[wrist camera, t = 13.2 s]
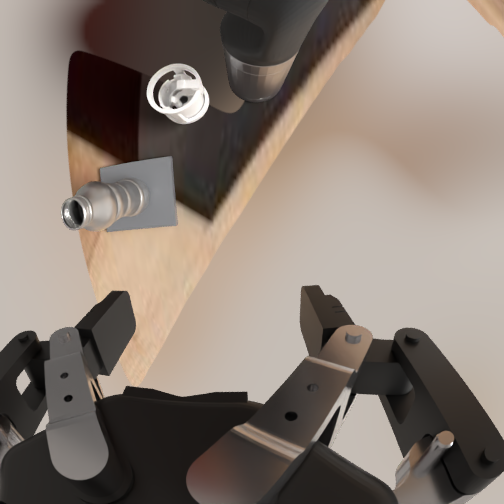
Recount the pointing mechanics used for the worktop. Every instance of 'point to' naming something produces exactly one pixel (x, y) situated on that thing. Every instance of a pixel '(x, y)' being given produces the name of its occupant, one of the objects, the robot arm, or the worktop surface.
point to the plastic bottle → (104, 204)
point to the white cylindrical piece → (180, 94)
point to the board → (160, 192)
